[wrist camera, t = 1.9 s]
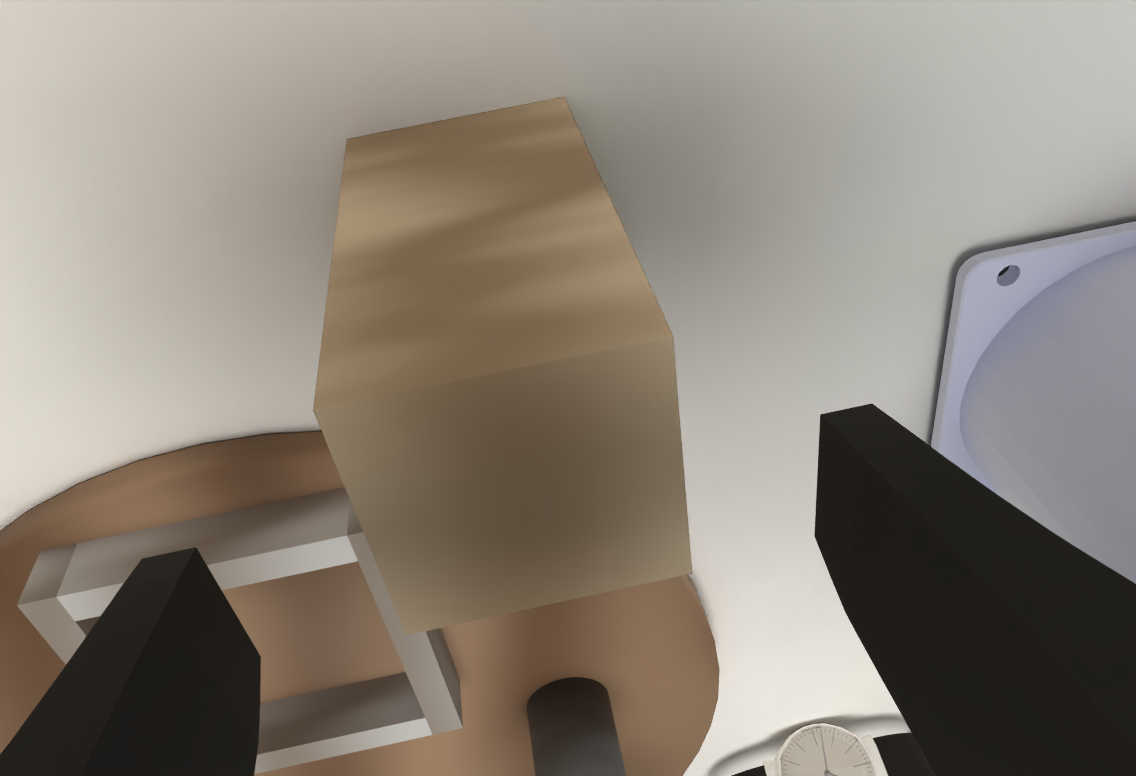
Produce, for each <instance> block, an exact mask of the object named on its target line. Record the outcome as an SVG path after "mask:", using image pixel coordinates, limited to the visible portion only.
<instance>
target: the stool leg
mask: <svg viewBox="0 0 1136 776" xmlns="http://www.w3.org/2000/svg"><path fill="white" fill-rule="evenodd" d="M313 411H314V413H315V416H316V418H317V421H318V423H319V425H320V428H321V430H322V433H323V435H324V438H325V440H326V443H327V445H328V447H329V450H330V452H331V455H332V457H333V460H334V462H335V464H336V467H337V469H338V472H339V474H340V477H341V479H342V481H343V484H344V486H345V489H346V491H347V494H348V496H349V499H350V501H351V503H352V506H353V508H354V511H355V513H356V516H357V518H358V520H359V523H360V525H361V528H362V530H363V533H364V535H365V537H366V540H367V542H368V545H369V547H370V550H371V552H372V555H373V557H374V559H375V562H376V564H377V567H378V569H379V572H380V574H381V576H382V579H383V581H384V584H385V586H386V589H387V591H388V593H389V596H390V598H391V601H392V603H393V606H394V608H395V611H396V613H397V615H398V618H399V620H400V623H401V625H402V628H403V630H404V632H405V635H410V634H415V633H420V632H424V631H429V630H433V629H438V628H443V627H447V626H452V625H456V624H461V623H466V622H470V621H475V620H480V619H484V618H489V617H493V616H498V615H503V614H507V613H512V612H516V611H521V610H526V609H530V608H535V607H540V606H544V605H549V604H553V603H558V602H563V601H567V600H572V599H576V598H581V597H586V596H590V595H595V594H600V593H604V592H609V591H613V590H618V589H623V588H627V587H632V586H636V585H641V584H646V583H650V582H655V581H660V580H664V579H669V578H673V577H678V576H683V575H687V574H692V565H691V553H690V540H689V528H688V516H687V504H686V491H685V479H684V467H683V454H682V442H681V430H680V417H679V405H678V393H677V380H676V368H675V356H674V344H673V335H672V333H671V331H670V328H669V326H668V324H667V322H666V320H665V317H664V315H663V313H662V311H661V309H660V306H659V304H658V302H657V300H656V298H655V295H654V293H653V291H652V289H651V287H650V284H649V282H648V280H647V278H646V276H645V273H644V271H643V269H642V267H641V265H640V262H639V260H638V258H637V256H636V254H635V251H634V249H633V247H632V245H631V243H630V240H629V238H628V236H627V234H626V232H625V229H624V227H623V225H622V223H621V221H620V218H619V216H618V214H617V212H616V210H615V207H614V205H613V203H612V201H611V199H610V196H609V194H608V192H607V190H606V188H605V185H604V183H603V181H602V179H601V177H600V174H599V172H598V170H597V168H596V166H595V163H594V161H593V159H592V157H591V155H590V152H589V150H588V148H587V146H586V144H585V141H584V139H583V137H582V135H581V133H580V130H579V128H578V126H577V124H576V122H575V119H574V117H573V115H572V113H571V111H570V108H569V106H568V104H567V102H566V100H565V97H560V98H555V99H550V100H545V101H540V102H535V103H530V104H524V105H519V106H514V107H509V108H504V109H499V110H494V111H488V112H483V113H478V114H473V115H468V116H463V117H458V118H453V119H447V120H442V121H437V122H432V123H427V124H422V125H417V126H411V127H406V128H401V129H396V130H391V131H386V132H381V133H376V134H370V135H365V136H360V137H355V138H350V139H347V142H346V150H345V159H344V167H343V175H342V183H341V191H340V199H339V207H338V215H337V223H336V231H335V239H334V247H333V255H332V263H331V271H330V279H329V287H328V295H327V303H326V311H325V319H324V327H323V335H322V343H321V351H320V359H319V367H318V375H317V383H316V391H315V399H314V407H313Z"/></svg>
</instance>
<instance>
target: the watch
mask: <svg viewBox="0 0 1136 776" xmlns="http://www.w3.org/2000/svg"><path fill="white" fill-rule="evenodd" d="M763 763H764V765H763V766H760V767H756V768H753V769H750V770H746V771H743V772H741V773H738V774H735V775H732V776H936V775H935V773H934V771H933V770H932V768H931V766H930V764H929V763H928V761H927V759H926V757H925V755H924V754H923V752H922V750H921V748H920V746H919V745H918V743H917V741H916V739H915V737H914V736H913V734H912V733H900V734H892V735H886V736H881V737H876V738H872V737H871V735H867V736H865V737H863V738H861V739H860V737H858V736H857V735H855V734H853V733H851V732H849V731H847V730H846V729H844V728H842V727H838V726H834V725H830V724H825V723H823V724H811V725H808V726H804V727H802V728H800V729H799V730H797V731H796V732H794V733H793V734H791V735H790V736H789V737H788V738H787V740H786V741H785V743H784V744H783V746H782V747H781V749H780V750H779V752H778V754H777V755H776V757H775V760H773V761H763Z"/></svg>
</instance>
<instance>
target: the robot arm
mask: <svg viewBox="0 0 1136 776" xmlns="http://www.w3.org/2000/svg"><path fill="white" fill-rule="evenodd" d="M1007 266H1009V269H1008V270H1007V271H1006V272H1005V273H1004V274H1003V275H1001V276H999V277H997V276H998V274H999V272H1000V271H1001V270H1003V269H1004V268H1005V267H1007ZM815 538H816V541H817V543H818V546H819V548H820V551H821V553H822V556H823V559H824V561H825V564H826V566H827V569H828V571H829V574H830V576H831V579H832V581H833V584H834V586H835V588H836V591H837V593H838V596H839V598H840V600H841V603H842V605H843V607H844V610H845V612H846V614H847V616H848V618H849V620H850V622H851V624H852V625H853V627H854V629H855V631H856V633H857V635H858V636H859V638H860V640H861V642H862V644H863V646H864V647H865V649H866V651H867V653H868V655H869V657H870V658H871V660H872V662H873V664H874V666H875V667H876V669H877V671H878V673H879V675H880V676H881V678H882V680H883V682H884V684H885V685H886V687H887V689H888V691H889V693H890V694H891V696H892V698H893V700H894V702H895V703H896V705H897V707H898V709H899V711H900V712H901V714H902V716H903V718H904V719H905V721H906V723H907V725H908V727H909V728H910V730H911V732H912V734H913V736H914V737H915V739H916V741H917V743H918V745H919V746H920V748H921V750H922V752H923V754H924V755H925V757H926V759H927V761H928V763H929V764H930V766H931V768H932V770H933V771H934V773H935V775H936V776H1136V221H1134V222H1129V223H1124V224H1119V225H1114V226H1110V227H1105V228H1100V229H1095V230H1090V231H1085V232H1080V233H1075V234H1070V235H1066V236H1061V237H1056V238H1051V239H1046V240H1041V241H1036V242H1031V243H1027V244H1022V245H1017V246H1012V247H1007V248H1002V249H997V250H992V251H987V252H983V253H979V254H977V255H974V256H972V257H971V258H969V259H968V260H967V261H965V262H964V264H963V265H962V266H961V267H960V269H959V271H958V274H957V277H956V283H955V289H954V296H953V303H952V309H951V316H950V322H949V329H948V336H947V342H946V349H945V355H944V362H943V369H942V375H941V382H940V388H939V395H938V401H937V408H936V415H935V421H934V428H933V434H932V441H931V446H929V445H928V444H927V443H925V442H924V441H923V440H921V439H920V438H918V437H917V436H916V435H914V434H913V433H912V432H910V431H909V430H908V429H906V428H905V427H903V426H902V425H901V424H899V423H898V422H897V421H895V420H894V419H892V418H891V417H890V416H888V415H887V414H886V413H884V412H883V411H881V410H880V409H879V408H877V407H876V406H875V405H873V404H868V405H863V406H858V407H854V408H849V409H844V410H840V411H835V412H830V413H825V414H821V415H820V435H819V456H818V477H817V498H816V518H815ZM260 685H261V656H260V654H259V653H258V651H257V649H256V648H255V646H254V644H253V642H252V641H251V639H250V637H249V636H248V634H247V632H246V631H245V629H244V627H243V626H242V624H241V622H240V620H239V619H238V617H237V615H236V614H235V612H234V610H233V609H232V607H231V605H230V604H229V602H228V600H227V598H226V597H225V595H224V593H223V592H222V590H221V588H220V587H219V585H218V583H217V582H216V580H215V578H214V576H213V575H212V573H211V571H210V570H209V568H208V566H207V565H206V563H205V561H204V560H203V558H202V556H201V554H200V553H199V551H198V549H197V548H196V547H194V548H189V549H185V550H180V551H175V552H171V553H166V554H161V555H157V556H152V557H147V558H142V559H141V561H140V562H139V563H138V565H137V566H136V567H135V569H134V570H133V571H132V573H131V574H130V575H129V577H128V578H127V579H126V581H125V582H124V584H123V585H122V586H121V588H120V589H119V591H118V592H117V593H116V595H115V596H114V598H113V599H112V601H111V602H110V603H109V605H108V606H107V608H106V609H105V610H104V612H103V613H102V615H101V616H100V618H99V619H98V620H97V622H96V623H95V625H94V626H93V628H92V629H91V630H90V632H89V633H88V635H87V636H86V638H85V639H84V640H83V642H82V643H81V645H80V646H79V647H78V649H77V650H76V652H75V653H74V654H73V656H72V657H71V659H70V660H69V662H68V663H67V664H66V666H65V667H64V668H63V670H62V671H61V673H60V674H59V675H58V677H57V678H56V680H55V681H54V682H53V684H52V685H51V686H50V688H49V689H48V691H47V692H46V693H45V695H44V696H43V697H42V699H41V700H40V702H39V703H38V704H37V706H36V707H35V708H34V710H33V711H32V713H31V714H30V715H29V717H28V718H27V719H26V721H25V722H24V724H23V725H22V726H21V728H20V729H19V730H18V732H17V733H16V734H15V736H14V737H13V738H12V740H11V741H10V742H9V744H8V745H7V746H6V748H5V749H4V750H3V751H2V753H1V754H0V776H254V773H255V766H256V759H257V752H258V744H259V723H260Z"/></svg>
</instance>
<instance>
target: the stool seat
mask: <svg viewBox="0 0 1136 776" xmlns="http://www.w3.org/2000/svg"><path fill="white" fill-rule="evenodd" d="M194 547H196V548H197V549H198V551H199V553H200V554H201V556H202V558H203V560H204V561H205V563H206V565H207V566H208V568H209V570H210V571H211V573H212V575H213V576H214V578H215V580H216V582H217V583H218V585H219V587H220V588H221V590H222V592H223V593H224V595H225V597H226V598H227V600H228V602H229V604H230V605H231V607H232V609H233V610H234V612H235V614H236V615H237V617H238V619H239V620H240V622H241V624H242V626H243V627H244V629H245V631H246V632H247V634H248V636H249V637H250V639H251V641H252V642H253V644H254V646H255V648H256V649H257V651H258V653H259V654H260V656H261V685H260V723H259V744H258V752H257V759H256V766H255V773H254V776H683V774H684V773H685V771H686V770H687V768H688V767H689V765H690V764H691V762H692V761H693V759H694V758H695V756H696V755H697V754H698V752H699V750H700V748H701V746H702V743H703V741H704V739H705V737H706V735H707V733H708V731H709V728H710V726H711V723H712V719H713V715H714V711H715V707H716V704H717V700H718V686H719V665H718V659H717V653H716V647H715V641H714V638H713V635H712V632H711V629H710V626H709V623H708V621H707V618H706V615H705V612H704V609H703V607H702V605H701V602H700V600H699V597H698V595H697V592H696V590H695V587H694V585H693V582H692V581H691V579H690V578H689V576H688V575H683V576H678V577H673V578H669V579H664V580H660V581H655V582H650V583H646V584H641V585H636V586H632V587H627V588H623V589H618V590H613V591H609V592H604V593H600V594H595V595H590V596H586V597H581V598H576V599H572V600H567V601H563V602H558V603H553V604H549V605H544V606H540V607H535V608H530V609H526V610H521V611H516V612H512V613H507V614H503V615H498V616H493V617H489V618H484V619H480V620H475V621H470V622H466V623H461V624H456V625H452V626H447V627H443V628H438V629H433V630H429V631H424V632H420V633H415V634H410V635H405V632H404V630H403V628H402V625H401V623H400V620H399V618H398V615H397V613H396V611H395V608H394V606H393V603H392V601H391V598H390V596H389V593H388V591H387V589H386V586H385V584H384V581H383V579H382V576H381V574H380V572H379V569H378V567H377V564H376V562H375V559H374V557H373V555H372V552H371V550H370V547H369V545H368V542H367V540H366V537H365V535H364V533H363V530H362V528H361V525H360V523H359V520H358V518H357V516H356V513H355V511H354V508H353V506H352V503H351V501H350V499H349V496H348V494H347V491H346V489H345V486H344V484H343V481H342V479H341V477H340V474H339V472H338V469H337V467H336V464H335V462H334V460H333V457H332V455H331V452H330V450H329V447H328V445H327V443H326V440H325V438H324V435H323V433H322V431H320V432H301V433H281V434H266V435H259V436H253V437H246V438H240V439H233V440H227V441H220V442H214V443H207V444H201V445H197V446H193V447H189V448H186V449H182V450H178V451H174V452H170V453H166V454H163V455H159V456H155V457H151V458H147V459H143V460H140V461H136V462H134V463H131V464H129V465H126V466H123V467H121V468H118V469H116V470H113V471H111V472H108V473H105V474H103V475H100V476H98V477H95V478H92V479H90V480H87V481H85V482H82V483H79V484H78V485H76V486H74V487H72V488H70V489H68V490H66V491H64V492H63V493H61V494H59V495H57V496H55V497H53V498H51V499H50V500H48V501H46V502H44V503H42V504H40V505H38V506H37V507H35V508H33V509H31V510H29V511H27V512H26V513H25V514H23V515H22V516H21V517H19V518H18V519H17V520H15V521H14V522H13V523H11V524H10V525H8V526H7V527H6V528H4V529H3V530H2V531H0V754H1V753H2V751H3V750H4V749H5V748H6V746H7V745H8V744H9V742H10V741H11V740H12V738H13V737H14V736H15V734H16V733H17V732H18V730H19V729H20V728H21V726H22V725H23V724H24V722H25V721H26V719H27V718H28V717H29V715H30V714H31V713H32V711H33V710H34V708H35V707H36V706H37V704H38V703H39V702H40V700H41V699H42V697H43V696H44V695H45V693H46V692H47V691H48V689H49V688H50V686H51V685H52V684H53V682H54V681H55V680H56V678H57V677H58V675H59V674H60V673H61V671H62V670H63V668H64V667H65V666H66V664H67V663H68V662H69V660H70V659H71V657H72V656H73V654H74V653H75V652H76V650H77V649H78V647H79V646H80V645H81V643H82V642H83V640H84V639H85V638H86V636H87V635H88V633H89V632H90V630H91V629H92V628H93V626H94V625H95V623H96V622H97V620H98V619H99V618H100V616H101V615H102V613H103V612H104V610H105V609H106V608H107V606H108V605H109V603H110V602H111V601H112V599H113V598H114V596H115V595H116V593H117V592H118V591H119V589H120V588H121V586H122V585H123V584H124V582H125V581H126V579H127V578H128V577H129V575H130V574H131V573H132V571H133V570H134V569H135V567H136V566H137V565H138V563H139V562H140V561H141V559H142V558H147V557H152V556H157V555H161V554H166V553H171V552H175V551H180V550H185V549H189V548H194Z"/></svg>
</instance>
